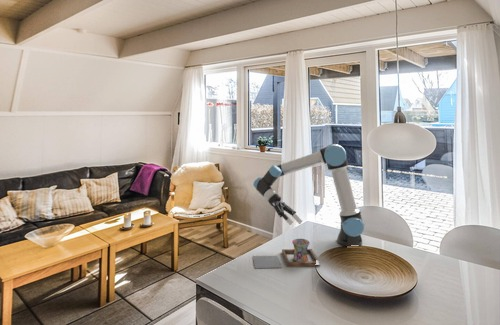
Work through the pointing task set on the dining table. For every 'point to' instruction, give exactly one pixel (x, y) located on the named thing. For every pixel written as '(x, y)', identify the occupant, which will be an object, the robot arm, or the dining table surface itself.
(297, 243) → the mug
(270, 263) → the mat
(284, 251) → the frame
